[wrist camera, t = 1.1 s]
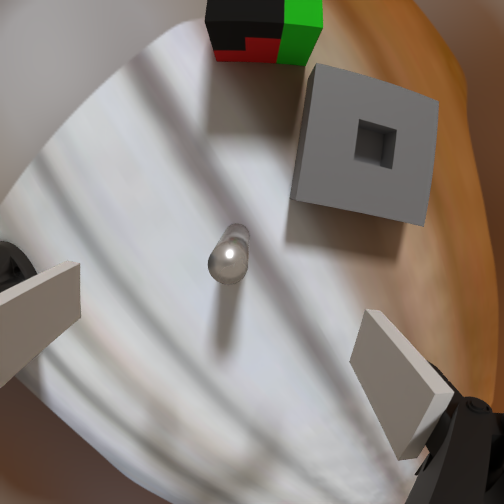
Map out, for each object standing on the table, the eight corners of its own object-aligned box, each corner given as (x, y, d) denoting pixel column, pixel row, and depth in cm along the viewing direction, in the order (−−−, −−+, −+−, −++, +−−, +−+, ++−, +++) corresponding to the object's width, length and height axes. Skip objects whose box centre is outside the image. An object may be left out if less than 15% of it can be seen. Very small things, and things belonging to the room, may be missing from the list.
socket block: (289, 198, 34) (295, 200, 29) (308, 78, 31) (316, 63, 26) (403, 221, 35) (423, 226, 30) (418, 109, 32) (438, 101, 27)
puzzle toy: (223, -4, 29) (215, -52, 19) (305, 0, 29) (319, -46, 19) (216, 61, 31) (204, 21, 21) (305, 66, 31) (323, 27, 21)
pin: (222, 246, 35) (205, 281, 23) (226, 221, 35) (210, 242, 22) (247, 250, 35) (244, 287, 23) (251, 225, 35) (250, 248, 22)
